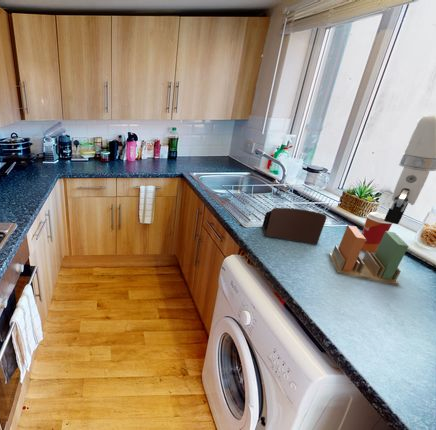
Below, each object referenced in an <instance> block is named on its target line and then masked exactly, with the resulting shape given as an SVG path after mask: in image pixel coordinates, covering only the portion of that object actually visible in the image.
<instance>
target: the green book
mask: <svg viewBox="0 0 436 430" xmlns="http://www.w3.org/2000/svg"><path fill="white" fill-rule="evenodd" d="M408 248H409V245H408V244H407V243H406V242H405V241H404V240H403V238H401V237H400V236H399V235H398V234H397V233H396V232H394V231H385V233H384V235H383V238H382V240H381V242H380V244H379V246H378V248H377V250H376V252H375V253H374V254H375V256H376V257H377V258H378V259H379V261H380V262H381V263H382V265H383V266H384V267H385V270H384V272H383V274H382V276H381V277H382V278H386V279H392V277H393V275H394V273H395V271H396V270H397V268H399V265H400V263H401V262H402V260H403V258H404V256H405V255H406V253H407V251H408Z"/></svg>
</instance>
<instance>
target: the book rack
mask: <svg viewBox="0 0 436 430" xmlns="http://www.w3.org/2000/svg"><path fill="white" fill-rule="evenodd" d="M328 256H329V258H330V260H331V263H332V264H333V266H334V268H335V270H336V273H337V274H339V275H343V276H344V275H345V276H349V277H353V278H359V279H363V280H368V281H374V282H378V283H382V284H387V285H392V286H397V287H398V286H399V284H400V282H399V281H398V280H397V279H398V278H399V276H400V274H401V272H402V271H401V269H400V268H399V267H398V268H397V270H396V271H395V273H394V275H393V277H392V279H386V278H382V277H381V276H382V274H383V272H384V270H385V267H384V266H383V265H382V263H381V262H380V261H379V259H378V258H377V257H376V256H375V253H373V252H371V253H369V252H368V251H366V252H365V253H364V255H363V257H361V256H360V255H359V256H358V258H357V261H356V263H355V265H354V267H353V270H352V271H347V270H343V269H342V268H343V265H344V263H345V259H344V257H343V255H342V254H341V252H340V250H339V246H338V245H335V246H334V248H333V250H332V252H329V253H328Z"/></svg>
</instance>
